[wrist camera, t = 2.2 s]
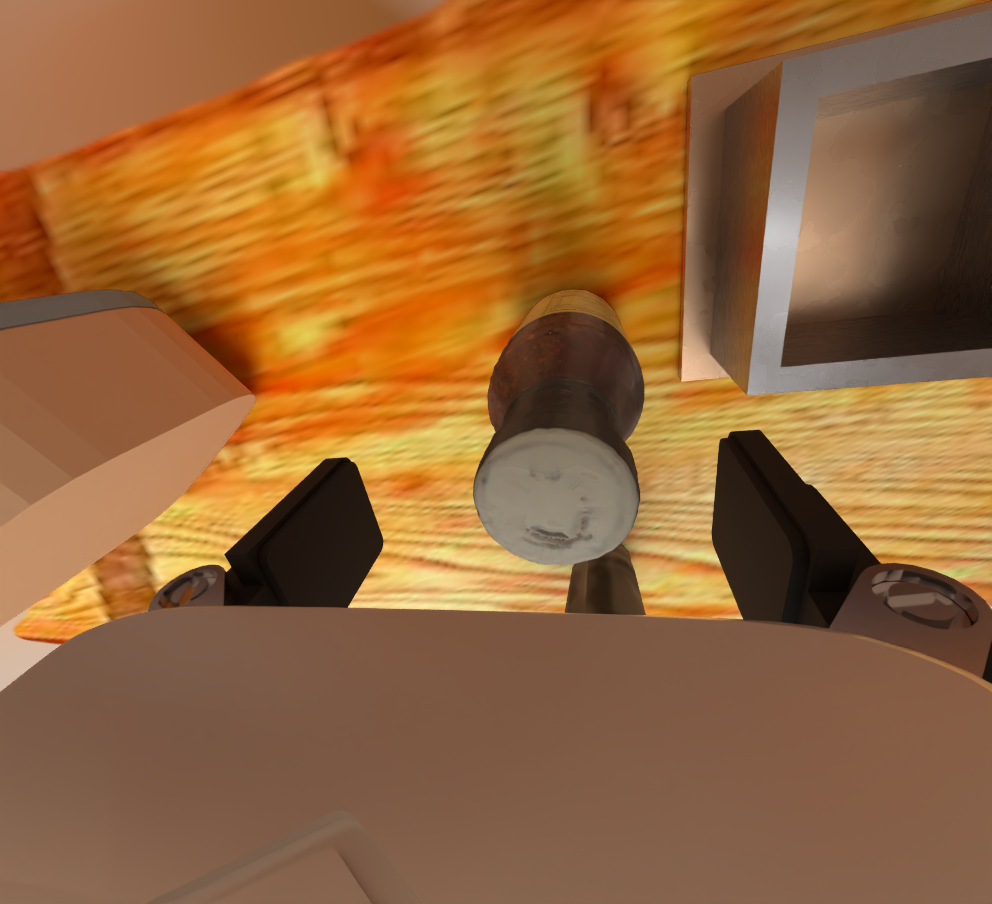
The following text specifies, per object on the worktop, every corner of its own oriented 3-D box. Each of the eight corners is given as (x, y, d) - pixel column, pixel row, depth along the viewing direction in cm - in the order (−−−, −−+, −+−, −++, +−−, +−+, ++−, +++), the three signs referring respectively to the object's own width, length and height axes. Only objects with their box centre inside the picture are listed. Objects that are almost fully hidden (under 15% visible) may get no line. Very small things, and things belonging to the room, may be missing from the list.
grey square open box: (1089, -18, 17) (1425, -179, 10) (966, 350, 24) (1120, 402, 17) (687, 81, 21) (736, 12, 14) (678, 376, 27) (708, 428, 21)
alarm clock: (185, 272, 31) (-441, 352, 12) (288, 371, 33) (-106, 566, 14) (100, 431, 40) (-328, 614, 21) (185, 499, 42) (-135, 719, 24)
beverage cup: (657, 533, 33) (729, 866, 16) (638, 598, 37) (680, 929, 20) (564, 518, 34) (538, 817, 17) (554, 583, 38) (524, 884, 21)
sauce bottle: (577, 399, 29) (560, 646, 12) (504, 345, 29) (378, 530, 12) (646, 321, 26) (750, 509, 9) (566, 258, 25) (515, 334, 8)
